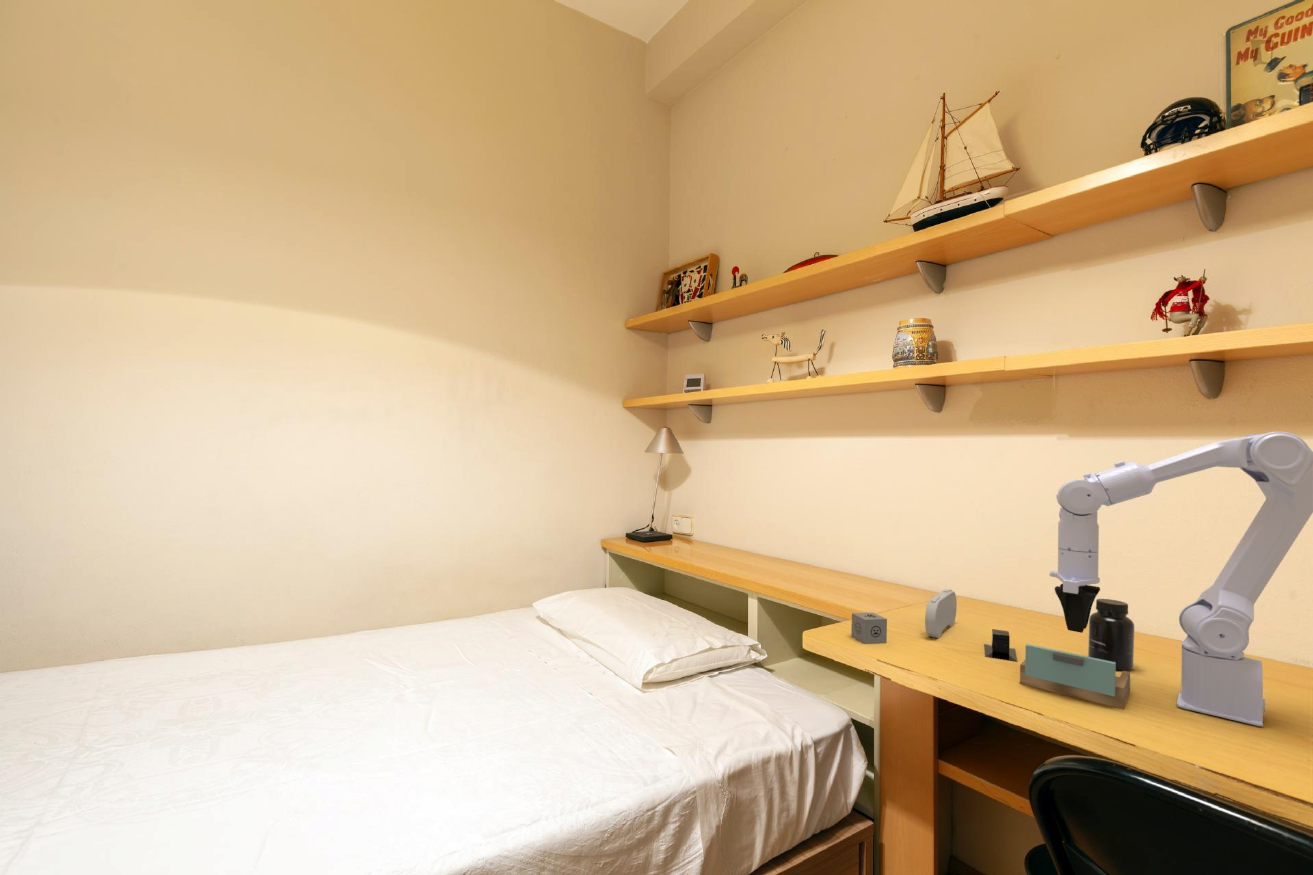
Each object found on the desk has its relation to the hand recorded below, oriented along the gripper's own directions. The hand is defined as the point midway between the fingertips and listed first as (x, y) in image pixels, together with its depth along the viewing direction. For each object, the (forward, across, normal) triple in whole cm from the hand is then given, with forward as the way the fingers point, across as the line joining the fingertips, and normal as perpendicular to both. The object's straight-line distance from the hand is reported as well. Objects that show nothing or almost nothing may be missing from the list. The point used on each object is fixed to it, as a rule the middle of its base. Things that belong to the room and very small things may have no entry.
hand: (1077, 629), depth 103 cm
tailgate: (+7, +7, 0) cm, 10 cm away
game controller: (+10, -16, -27) cm, 33 cm away
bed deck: (+9, +2, 0) cm, 10 cm away
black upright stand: (+10, -9, -14) cm, 19 cm away
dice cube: (+10, +3, -35) cm, 37 cm away
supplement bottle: (+10, -17, +3) cm, 20 cm away
